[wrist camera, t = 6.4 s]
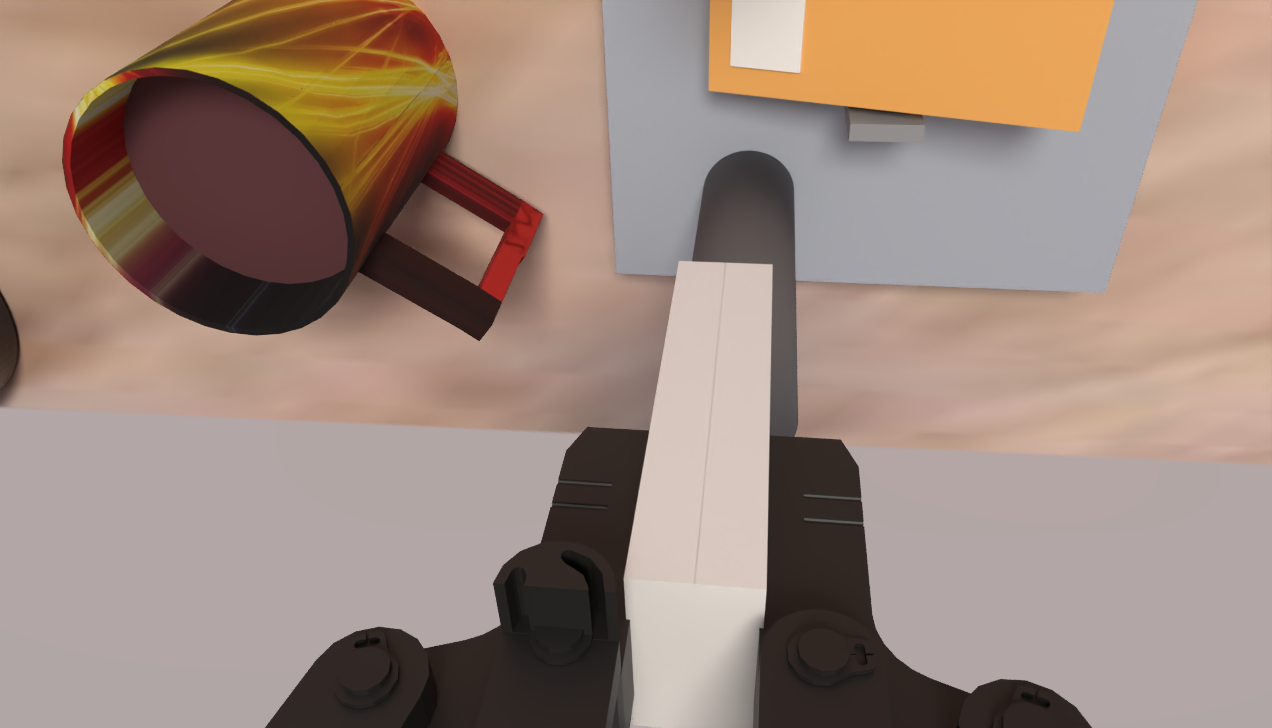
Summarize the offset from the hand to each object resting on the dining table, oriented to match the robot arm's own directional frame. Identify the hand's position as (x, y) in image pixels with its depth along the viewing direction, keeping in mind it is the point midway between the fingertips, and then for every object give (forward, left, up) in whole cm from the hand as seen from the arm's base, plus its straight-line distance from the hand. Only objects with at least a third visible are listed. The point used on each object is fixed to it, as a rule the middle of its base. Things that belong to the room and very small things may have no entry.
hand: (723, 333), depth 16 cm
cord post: (0, -8, -21) cm, 23 cm away
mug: (-15, -5, -25) cm, 29 cm away
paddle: (+5, 0, -18) cm, 19 cm away
